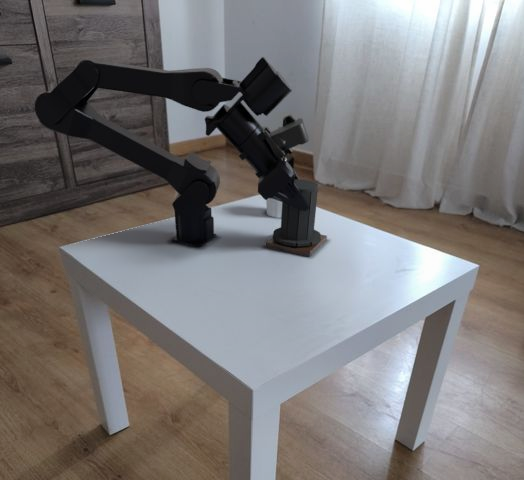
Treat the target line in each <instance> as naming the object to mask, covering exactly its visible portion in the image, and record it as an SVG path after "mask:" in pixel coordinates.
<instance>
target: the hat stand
mask: <svg viewBox="0 0 524 480" xmlns="http://www.w3.org/2000/svg"><path fill="white" fill-rule="evenodd" d="M320 235H321V240H320V242H318V243H316V244H314V245H310V246H299V247H297V245H296V246H290V245H284V244H282V243H279V242H278V241H276V240H274V238H273V236H271V237H269V239H268V240H266V241H265V242H264V243H265V245H264V247H265V248H268V249H272V250H278V251H280V252H281V251H282V252H286V253H291V254H295V255H299V256H305V257H309V258H310V257H311V256H312V255H313V254H314V253H315V252H317V251H318V249H319V248H320V247H322V245H324V244H325V242H326V241H327V240H328V239H327V238H328V235H325V234H321V233H320Z"/></svg>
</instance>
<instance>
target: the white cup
mask: <svg viewBox="0 0 524 480" xmlns="http://www.w3.org/2000/svg"><path fill="white" fill-rule="evenodd" d="M265 205H266V215H268V216H269V217H271V218H277V219H281V216H282V202H281V201H278V200H275V199H273V198H271V199H270V198H268V199H267V200H265Z"/></svg>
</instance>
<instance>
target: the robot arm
mask: <svg viewBox="0 0 524 480" xmlns="http://www.w3.org/2000/svg"><path fill="white" fill-rule="evenodd" d="M98 89H103V90H110V91H118V92H123V93H130V94H137V95H144V96H151V97H159V98H165V99H167V100H171V101H173V102H175V103H177V104H180V105H181V106H183V107H187V108H190V109H193V110H195V111H198V112H203V113H207V112H210V111H213V110H215V109H216V108H217V107H218V106H219V104H220V103H225V102H230V101H233V99H235V97H236V96H237V95H238V94H239V93H240V94H241V95H240V96H239V97H238V98H237V99H236V100H235V102H233V104H232V105H231V106H229V105H227V104H222V106H220V108H219V109H218V110H217V111H216V112H215V114H213V115H206V116H205V117H204V122H205V135H206V136H207V137H209V136H211V134H212V133H213V132H214V131H216V129H217V130H218V131H219V132H220V134H222V136H223V137H224V138H225V139H226V140H227V142H229V143H230V145H232V147H233V148H234V149H235V150H236V151H237V152H238V157H239V158H240V160H241V161H244V160H245V162H247V163H248V164H249V165H250V167H251V168H252V169H253V170H254V171H255V173H254V175H255V176H256V177H257V178H258V182H257V193H258V194H259V195H260V196H261V197H262V198H263V200H264V201H266V200H267V199H268V198H270V199H271V198H273V199H275V200H278V201H281V202H283V203H286V204H288V205H291V206H293V207H295V208H298V209H300V210H303V211H306V210H307V209H309V205H308V204H307V202H306V200H305V199H304V197H303V195H302V194H301V192H300V190H299V189H298V187H297V186H296V184H295V182H294V181H295V179H300V178H299V176H298V174H297V172H296V169H295V167H294V166H295V154H293V148H294V147H297V146H299V145H300V146H301V145H305V144H306V143H308V142H309V141H310V139H309V138H310V137H309V134H308V131H307V128H306V125H305V123H304V119H303V118H301V117H299V118H297V119H296V117H294V116H293V115H292V114H288V115H287V116H286V115H285V116H284V117H283V118H282V126H278V127H277V128H276V129H274V130H270V128H269V127H268V126H265V125H264V126H262V125H261V123H260V122H259V121H258V120H257V119H256V118H255V117H254V115H255V116H257V117H260V116H262V115H264V117H265V116H266V117H268V116H269V115H270V113H272V112H274V110H275V109H276V108H277V107H278V106H279V105H280V104H281V103H282V102H283V101H284V100H285V99H286V98H287V97H288V96H289V95H290V94H291V93H292V91H293V90H292V88H291V86H290V85H289V82H287V81H286V79H285V78H284V76H283V75H282V74H281V73H280V71H279V70H276V69H275V68H274V66H273V65H272V64H271V63H270V62H269V61H268V60H267V59H266V58H265V56H261V57H260V58H259V59H258V61H257V62H256V64H255V65H254V66H253V68H252V69H251V70H250V71H249V72H248V74H246V75H245V77H244V78H243V79H242V80H237V79H235V78H234V79H232V78H227V77H222V74H220V73H219V71H218V70H216V69H215V68H211V67H199V68H185V69H175V70H172V69H171V70H169V69H168V70H167V69H160V68H153V67H145V66H139V65H133V64H125V63H118V62H111V61H104V60H101V59H98V58H96V57H93V58H92V57H91V58H87V59H83V60H81V61H79V63H77V65H76V67H75V68H74V69H73V70H72V71H71V72H70V73H69V74H68V75H67V76H66V77H64V78H63V80H61V81H60V82H59V83H58V84H57V85H55V87H54V88H53V89H51V90H48V91H44V92H42V93H40V94H39V95H38V96H37V97H36V99H35V102H34V111H35V112H34V113H35V115H36V117H37V119H38V122H39V123H40V124H41V125H42V126H43V127H44V128H45V129H46V130H47V129H48V130H50V131H52V132H55V133H59V134H61V135H65V136H67V137H74V138H80V139H84V140H88V141H91V142H92V143H95V144H97V145H98V146H100V147H102V148H104V149H106V150H108V151H110V152H112V153H114V154H115V155H118V156H120V157H122V158H123V159H125V160H127V161H129V162H131V163H133V164H134V165H137V166H139V167H141V168H142V169H144V170H146V171H148V172H150V173H152V174H154V175H156V176H158V177H160V178H162V179H163V180H165V181H166V183H168V184H169V185H170V186H171V188H173V190H174V191H175V192H176V193H177V195H176V197H175V198H174V200H173V202H172V204H171V205H172V207H173V210H174V222H175V236H173V237H171V242H173V243H179V244H181V245H187V246H189V247H191V246H192V247H196V248H201V247H203V246H205V245H207V244H208V243H209V242H211V241H213V240H215V238H217V237H218V235H217V233H215V219H214V217H213V215H212V213H213V212H212V207H209V206H208V205H209V204H210V203H212V202H213V200H214V199H215V198H216V195H217V193H218V190H219V187H220V184H221V177H220V174H219V172H218V170H217V169H216V167H214V166H213V165H211V164H212V161H211V160H206V159H203V158H202V157H200V156H199V155H198V154H196V153H195V152H193V151H190V152H189V153H188V154H187V156H186V157H183V156H178V155H175V154H173V153H172V152H169V151H167V150H166V149H163V148H161V147H160V146H158V145H156V144H154V143H153V142H150V141H148V140H147V139H145V138H144V137H141V136H139V135H137V134H136V133H134V132H132V131H130V130H128V129H127V128H124V127H122V126H121V125H119V124H116V123H115V122H114V121H111V120H109V118H106V117H104V116H102V115H101V114H100V113H99V112H98V111H97V110H96V109H95V108H94V107H93V106H92V105H91V104H90V103H89V101H90V100H91V98H92V97H93V96H94V95H95V93H96V92H97V91H98ZM242 101H243V102H244V104H245V105H246V106H247V107H248V108H247V107H246V106H245V105H244V104H243V102H242ZM248 109H250V111H251V112H252V113H253V114H254V115H253V114H252V113H251V112H250V111H249V110H248ZM287 155H290V156H288V158H287V157H286V156H287Z"/></svg>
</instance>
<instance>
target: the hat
mask: <svg viewBox="0 0 524 480" xmlns="http://www.w3.org/2000/svg"><path fill="white" fill-rule="evenodd" d="M294 182H295V184H296V186H297V187H298V189H299V190H300V192H301V194H302V195H303V197H304V199H305V200H306V202H307V204H308V205H309V209H307V210H306V211H303V210H300V209H298V208H295V207H293V206H291V205H288V204H286V203H283V202H282V216H281V218H280V227H278V228H275V229H274V230H273V233H272V237H273V238H274V240H276V241H278V242H279V243H282V244H284V245H290V246H296V245H297V247H299V246H310V245H314V244H316V243H318V242H320V240H321V235H322V234H321V232H320V231H318V230H316V229H315V224H316V213H317V212H316V211H317V201H318V191H319V190H318V189H319V184H318V183H317V182H315V181H312V180H309V179H302V178H299V179H295V181H294ZM320 234H321V235H320Z"/></svg>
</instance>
